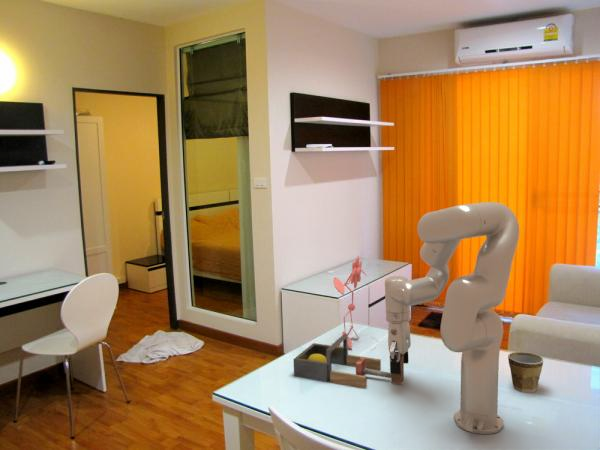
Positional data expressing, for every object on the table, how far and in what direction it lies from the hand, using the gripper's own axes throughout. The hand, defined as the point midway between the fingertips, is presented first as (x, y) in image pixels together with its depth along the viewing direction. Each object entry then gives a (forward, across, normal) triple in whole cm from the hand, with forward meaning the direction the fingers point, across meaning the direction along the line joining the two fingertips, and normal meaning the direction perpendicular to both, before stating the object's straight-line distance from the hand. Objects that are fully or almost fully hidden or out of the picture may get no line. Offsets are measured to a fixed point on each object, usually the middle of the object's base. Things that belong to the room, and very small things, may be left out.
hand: (399, 368), depth 167 cm
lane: (+5, +1, +15) cm, 16 cm away
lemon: (+2, +1, +25) cm, 25 cm away
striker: (+5, +1, +7) cm, 8 cm away
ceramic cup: (+6, +13, -36) cm, 39 cm away
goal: (+4, +1, +27) cm, 27 cm away
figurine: (+4, +29, +24) cm, 38 cm away
